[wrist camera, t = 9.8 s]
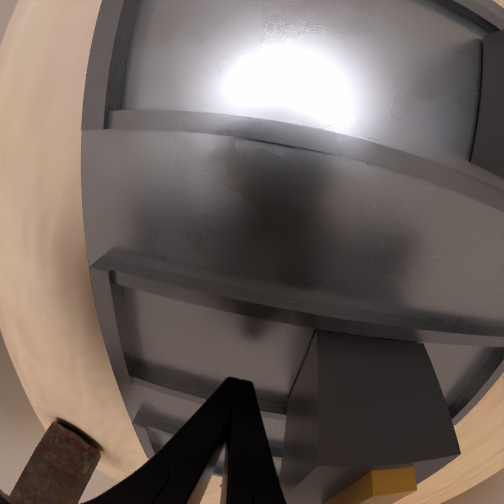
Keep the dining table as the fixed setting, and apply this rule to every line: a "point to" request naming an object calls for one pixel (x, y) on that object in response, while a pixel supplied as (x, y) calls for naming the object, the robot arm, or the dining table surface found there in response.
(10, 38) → the dining table surface
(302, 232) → the panel
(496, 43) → the block
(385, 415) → the breaker mid
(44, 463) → the candle
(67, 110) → the dining table surface
